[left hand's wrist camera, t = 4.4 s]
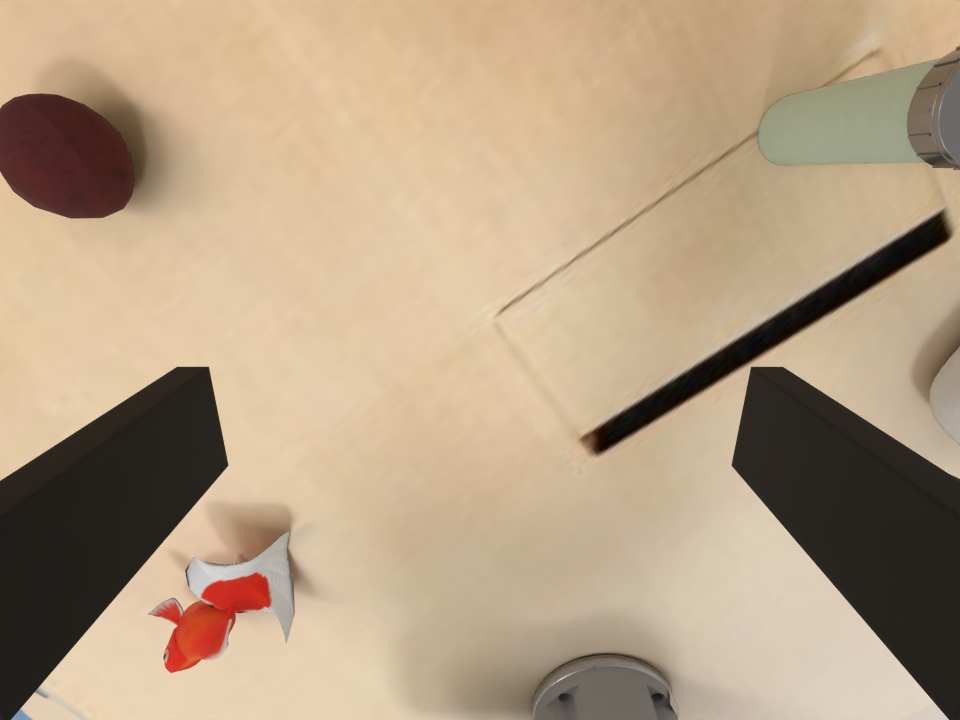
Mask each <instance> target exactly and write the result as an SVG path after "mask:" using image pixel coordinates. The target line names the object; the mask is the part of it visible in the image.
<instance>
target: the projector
mask: <svg viewBox="0 0 960 720" xmlns="http://www.w3.org/2000/svg"><path fill="white" fill-rule="evenodd" d="M929 401H930V407H931V410H932V412H933V415H934V417H935V419H936V421H937V422H938V424H939V425H940V426H941V427H942V428H943V430H944V431H945V432H946V433H947V434H948V435H950V436H951V437H952V438H953V439H954V440H955V441H956V442H957V443H958V444H959V445H960V347H959V348H958V349H957V350H956V351H955V352H954V353H953V355H952V356H951V357H950V358H949V359H948V360H947V362H946V363H945V364H944V366H943V367H942V368H941V369H940V371H939V373H938V374H937V376H936V377H935V379H934V381H933V383H932V386H931V389H930V396H929Z"/></svg>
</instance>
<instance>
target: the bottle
mask: <svg viewBox="0 0 960 720" xmlns="http://www.w3.org/2000/svg"><path fill="white" fill-rule="evenodd" d="M941 59H942V58H939V59H935V60H931V61H927V62H923V63H919V64H915V65H911V66H907V67H903V68H898V69H894V70H890V71H886V72H882V73H878V74H874V75H870V76H866V77H862V78H858V79H854V80H850V81H846V82H842V83H838V84H834V85H829V86H825V87H821V88H817V89H813V90H809V91H805V92H801V93H797V94H793V95H789V96H786V97H784V98H782V99H780V100H778V101H777V102H776V103H774V104H773V105H772V106H771V107H770V108H769V109H768V111H767V112H766V113H765V115H764V117H763V119H762V121H761V123H760V126H759V131H758V143H759V147H760V150H761V152H762V153H763V155H764V156H765V157H766V158H767V159H768V160H769V161H771V162H773V163H775V164H778V165H819V164H867V163H915V162H925V161H923V160H922V159H921V158H920V157H917V156H916V155H917V154H916V153H915V151H914V150H913V148H912V146H911V144H910V141H909V138H908V137H907V136H908V133H907V117H908V115H907V113H908V111H909V107H910V103H911V100H912V98H913V96H914V93H915V91H916V88H917V86H919V84H920V82H921V81H922V79H923V78H924V77H925V75H926V74H927V73H928V72H929V70H930V69H931V68H932V67H933V65H934V64H935V63H937V62H939V61H940V60H941Z"/></svg>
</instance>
